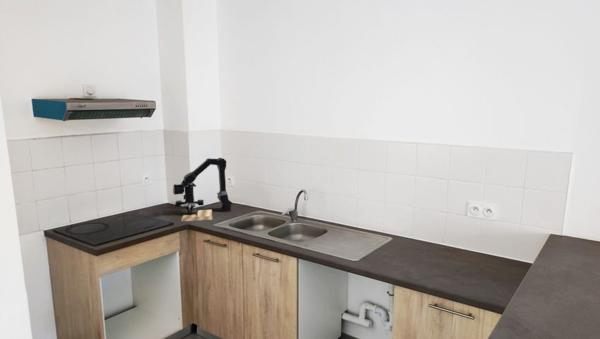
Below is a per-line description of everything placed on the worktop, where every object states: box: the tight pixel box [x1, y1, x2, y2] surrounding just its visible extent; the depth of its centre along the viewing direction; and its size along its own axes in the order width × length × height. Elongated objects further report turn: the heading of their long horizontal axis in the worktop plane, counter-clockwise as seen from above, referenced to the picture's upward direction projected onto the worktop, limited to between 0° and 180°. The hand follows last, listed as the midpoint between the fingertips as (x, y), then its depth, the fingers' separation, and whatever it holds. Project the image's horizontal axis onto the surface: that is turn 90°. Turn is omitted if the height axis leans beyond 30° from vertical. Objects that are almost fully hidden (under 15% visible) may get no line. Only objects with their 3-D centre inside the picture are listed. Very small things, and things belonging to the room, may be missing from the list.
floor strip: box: [180, 215, 213, 222], centre depth 278 cm, size 20×8×1 cm, turn 102°
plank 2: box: [197, 209, 213, 217], centre depth 286 cm, size 10×7×1 cm
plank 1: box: [181, 213, 198, 219], centre depth 284 cm, size 10×7×1 cm
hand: (190, 215), depth 287 cm, fingers closed, pressing on plank 1
